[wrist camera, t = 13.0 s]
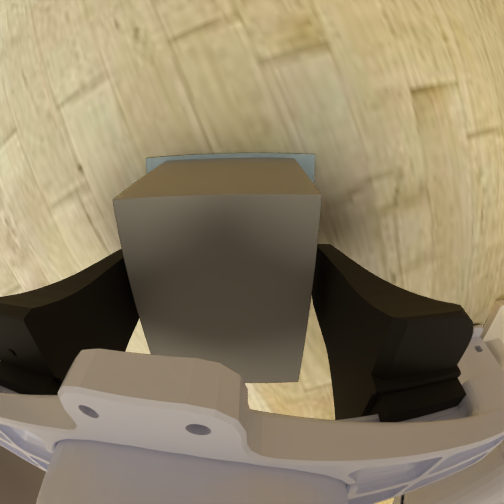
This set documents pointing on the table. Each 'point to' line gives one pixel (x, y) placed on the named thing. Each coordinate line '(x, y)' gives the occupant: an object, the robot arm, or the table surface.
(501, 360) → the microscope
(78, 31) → the table surface
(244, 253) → the taupe rectangular post
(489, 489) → the robot arm
